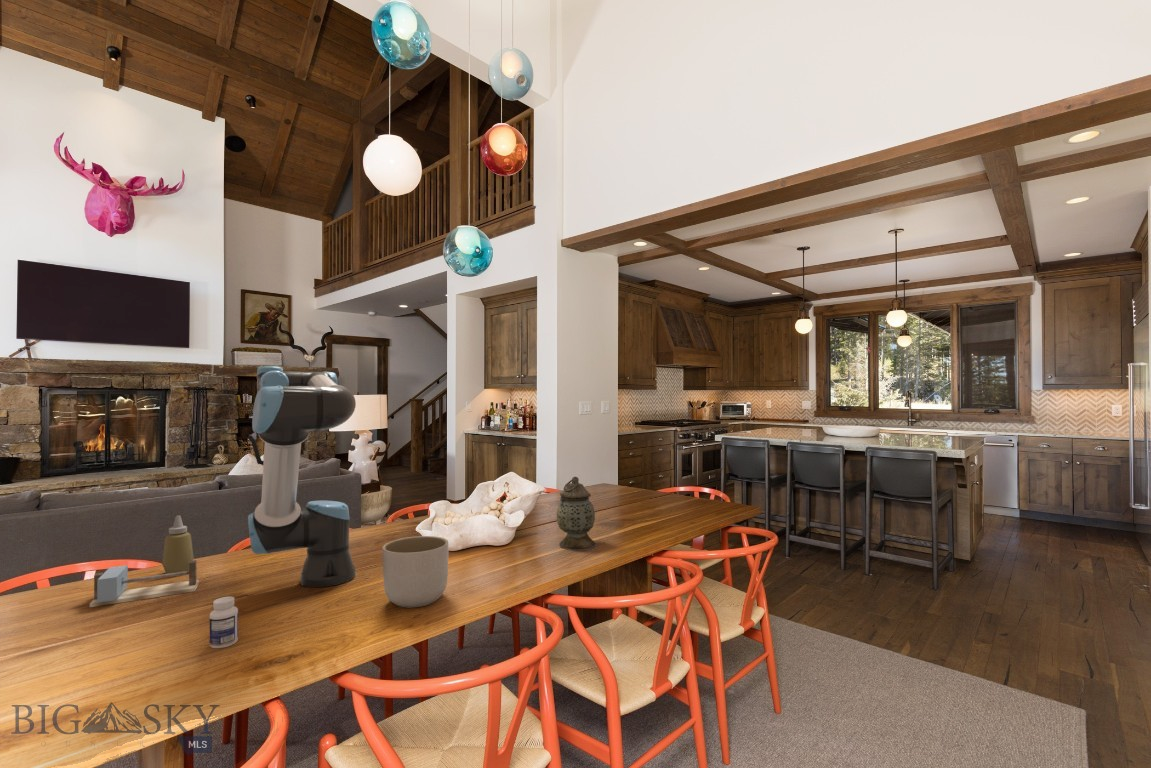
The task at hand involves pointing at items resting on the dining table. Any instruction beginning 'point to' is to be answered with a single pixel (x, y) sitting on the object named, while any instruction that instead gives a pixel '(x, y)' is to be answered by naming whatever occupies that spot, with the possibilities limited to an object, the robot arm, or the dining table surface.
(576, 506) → the lantern
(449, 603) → the dining table surface
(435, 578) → the planter
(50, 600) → the dining table surface
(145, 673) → the dining table surface
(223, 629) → the pill bottle
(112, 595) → the block
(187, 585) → the rail
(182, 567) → the squeeze bottle
